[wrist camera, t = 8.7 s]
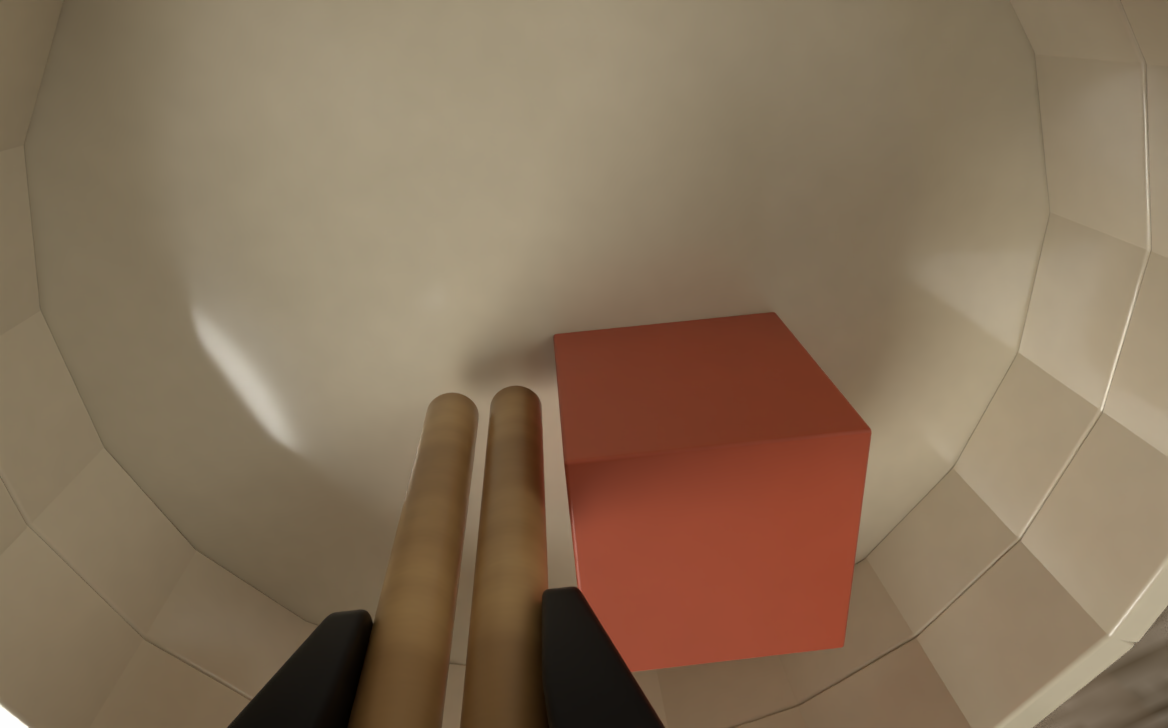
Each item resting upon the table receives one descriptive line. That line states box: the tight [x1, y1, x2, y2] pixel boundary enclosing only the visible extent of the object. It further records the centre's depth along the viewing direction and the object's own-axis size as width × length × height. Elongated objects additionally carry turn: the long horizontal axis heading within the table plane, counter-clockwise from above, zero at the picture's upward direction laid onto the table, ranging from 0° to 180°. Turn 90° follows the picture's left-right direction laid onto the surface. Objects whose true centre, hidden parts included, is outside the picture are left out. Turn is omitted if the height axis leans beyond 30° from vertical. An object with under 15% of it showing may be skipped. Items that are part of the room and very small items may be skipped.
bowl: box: [0, 0, 1168, 728], centre depth 11 cm, size 18×18×5 cm
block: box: [553, 312, 872, 672], centre depth 12 cm, size 4×4×4 cm
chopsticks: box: [347, 386, 549, 728], centre depth 7 cm, size 1×2×11 cm, turn 94°
